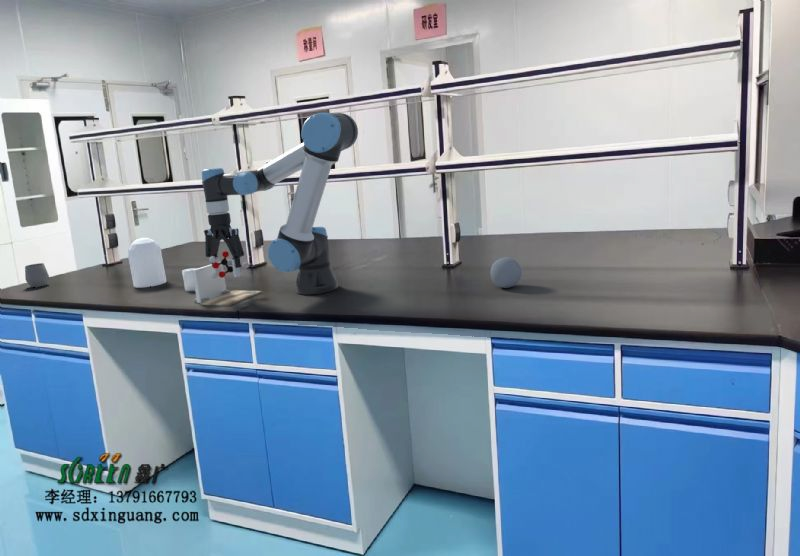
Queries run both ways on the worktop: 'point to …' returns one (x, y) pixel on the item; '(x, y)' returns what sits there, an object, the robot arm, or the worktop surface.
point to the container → (146, 263)
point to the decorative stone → (505, 272)
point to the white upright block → (188, 279)
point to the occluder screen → (208, 284)
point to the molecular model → (224, 262)
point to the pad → (230, 298)
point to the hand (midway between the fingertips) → (227, 276)
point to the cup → (36, 275)
